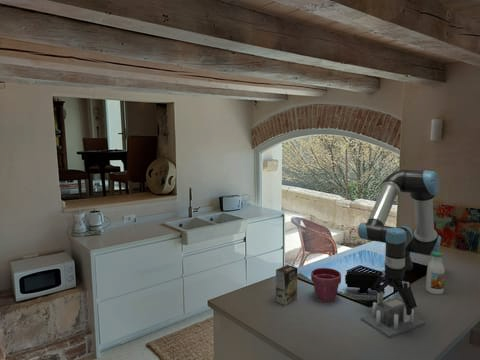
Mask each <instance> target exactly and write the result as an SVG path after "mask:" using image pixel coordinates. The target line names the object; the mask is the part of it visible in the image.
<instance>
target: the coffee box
mask: <svg viewBox="0 0 480 360" xmlns="http://www.w3.org/2000/svg"><path fill="white" fill-rule="evenodd" d="M297 300H298V267H296V266H293V265H290V264H289V265H288V264H287V265H284V266H281V267H278V268H277V269H275V302H277V303H279V304H282V305H284V306H287V305H289V304H291V303H293V302H295V301H297Z"/></svg>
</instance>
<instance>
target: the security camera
mask: <svg viewBox="0 0 480 360" xmlns="http://www.w3.org/2000/svg"><path fill="white" fill-rule="evenodd" d="M378 276H379V272H369V271H367V272H365V271H351V270H347V271H346V274H345V276H344V279H345V280H344V282H345V285H346V288H350V289H351V288H352V289H357V293H358V294H362V293H367V295H369V290H370V291H371V292H374V291H375V292H376V290H375V289H373V285H374V284H375V282H376V280H377V278H378ZM381 285H382V284H380V286H381ZM380 286H379V287H380ZM381 292H383V295H384V294H386V293H385V288H384V289H383V291H381Z"/></svg>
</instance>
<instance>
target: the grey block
mask: <svg viewBox="0 0 480 360" xmlns="http://www.w3.org/2000/svg"><path fill="white" fill-rule="evenodd" d="M405 306H406V305H405V303H404V302H403V300H402V299H400V298H398V297H396V298H392V300H389V301H388V300H386V301H383V303H380V304H377V310H380V311H381V318H380V322H381V323H382V324H384V325H386V326H387V327H389V326H391V325H394V314H397V315H399V316H398V323H400V322H402V321H404V307H405Z"/></svg>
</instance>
